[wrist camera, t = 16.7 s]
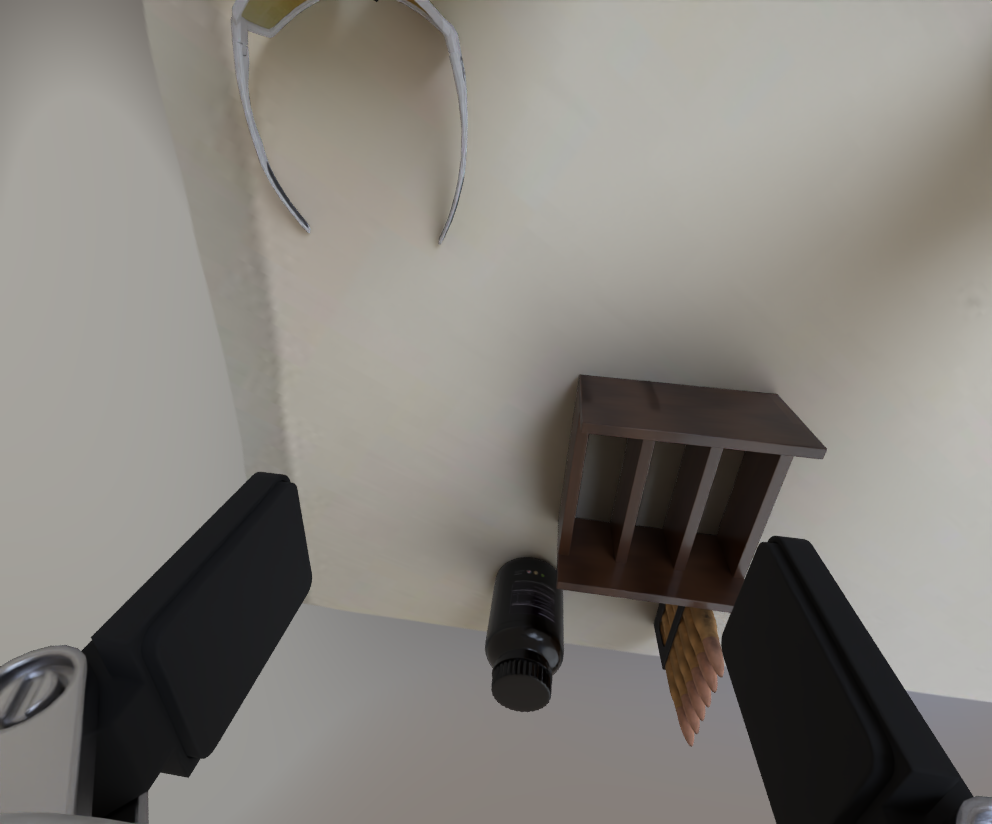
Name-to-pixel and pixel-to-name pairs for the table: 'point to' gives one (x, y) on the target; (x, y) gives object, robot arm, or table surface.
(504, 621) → the supplement bottle
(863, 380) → the table surface
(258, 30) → the sunglasses
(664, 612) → the ammunition clip
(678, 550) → the rack
